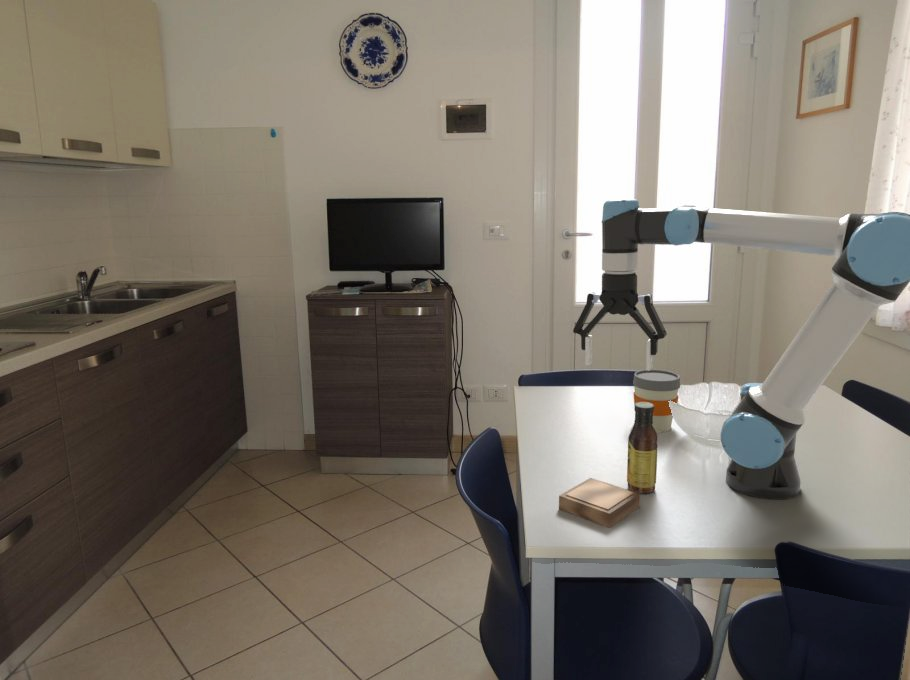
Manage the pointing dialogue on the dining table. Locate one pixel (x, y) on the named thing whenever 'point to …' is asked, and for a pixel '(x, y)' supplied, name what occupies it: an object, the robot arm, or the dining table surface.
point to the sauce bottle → (642, 450)
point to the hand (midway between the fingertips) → (618, 366)
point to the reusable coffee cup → (657, 394)
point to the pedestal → (599, 502)
